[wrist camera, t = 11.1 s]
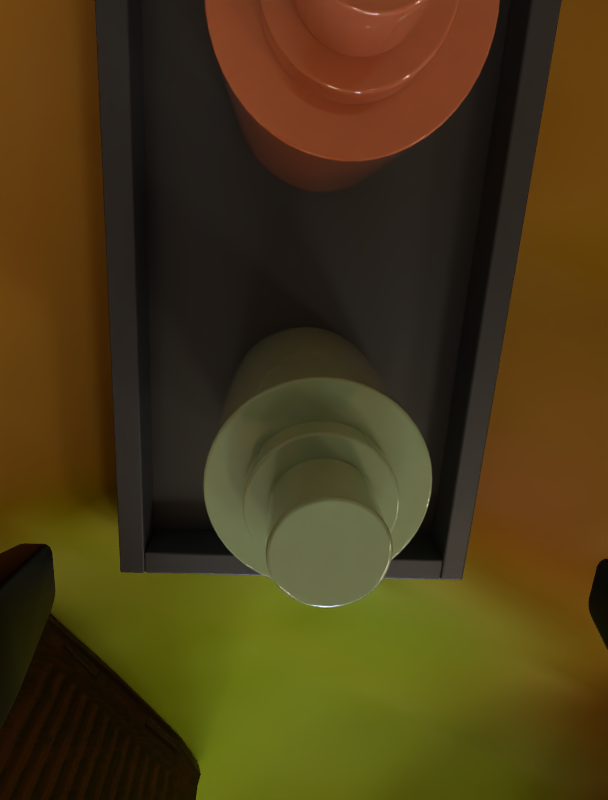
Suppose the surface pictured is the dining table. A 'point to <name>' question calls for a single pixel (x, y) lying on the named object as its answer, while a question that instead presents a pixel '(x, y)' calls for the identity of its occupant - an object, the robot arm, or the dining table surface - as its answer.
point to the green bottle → (315, 468)
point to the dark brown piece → (87, 733)
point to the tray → (300, 271)
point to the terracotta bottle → (345, 78)
